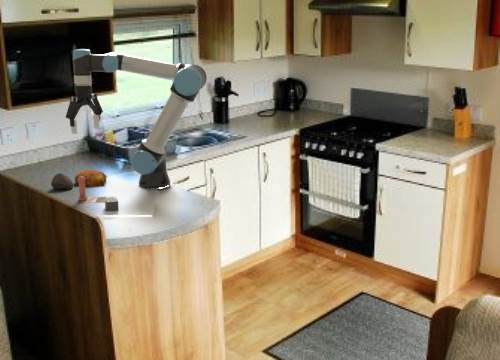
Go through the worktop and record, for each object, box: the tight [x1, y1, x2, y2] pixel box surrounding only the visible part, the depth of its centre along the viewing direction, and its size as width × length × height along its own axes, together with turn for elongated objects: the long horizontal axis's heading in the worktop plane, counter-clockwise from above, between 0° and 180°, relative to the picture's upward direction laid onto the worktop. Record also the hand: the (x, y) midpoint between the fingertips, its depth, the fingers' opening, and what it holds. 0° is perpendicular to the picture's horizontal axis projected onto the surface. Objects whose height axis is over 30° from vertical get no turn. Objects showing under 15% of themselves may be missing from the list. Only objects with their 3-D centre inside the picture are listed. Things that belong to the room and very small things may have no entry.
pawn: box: [77, 176, 88, 201], centre depth 273 cm, size 4×4×11 cm
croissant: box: [74, 169, 108, 188], centre depth 301 cm, size 14×16×8 cm
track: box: [76, 196, 117, 204], centre depth 275 cm, size 16×8×1 cm, turn 94°
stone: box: [50, 173, 74, 190], centre depth 293 cm, size 10×8×10 cm
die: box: [104, 197, 119, 212], centre depth 263 cm, size 5×5×5 cm
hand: (85, 131), depth 282 cm, fingers open, 13 cm apart
